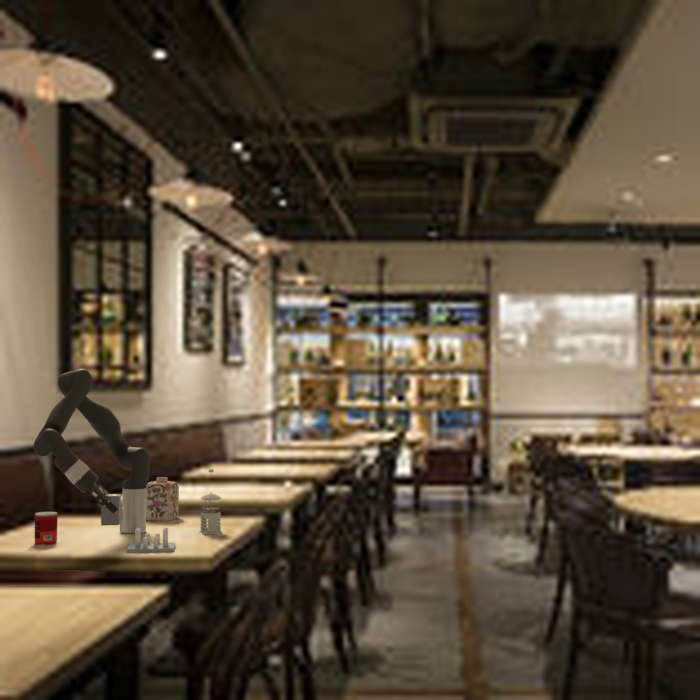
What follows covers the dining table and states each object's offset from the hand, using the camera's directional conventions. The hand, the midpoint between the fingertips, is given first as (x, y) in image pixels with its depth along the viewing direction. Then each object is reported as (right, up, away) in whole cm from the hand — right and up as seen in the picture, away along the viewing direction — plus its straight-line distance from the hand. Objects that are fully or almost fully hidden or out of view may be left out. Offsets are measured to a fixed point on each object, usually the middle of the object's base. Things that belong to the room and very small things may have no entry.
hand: (116, 510), depth 331 cm
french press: (+26, -17, +45) cm, 54 cm away
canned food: (-30, -15, +17) cm, 38 cm away
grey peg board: (+11, -15, +7) cm, 19 cm away
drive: (-2, -5, 0) cm, 5 cm away
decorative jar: (0, -18, +81) cm, 83 cm away
